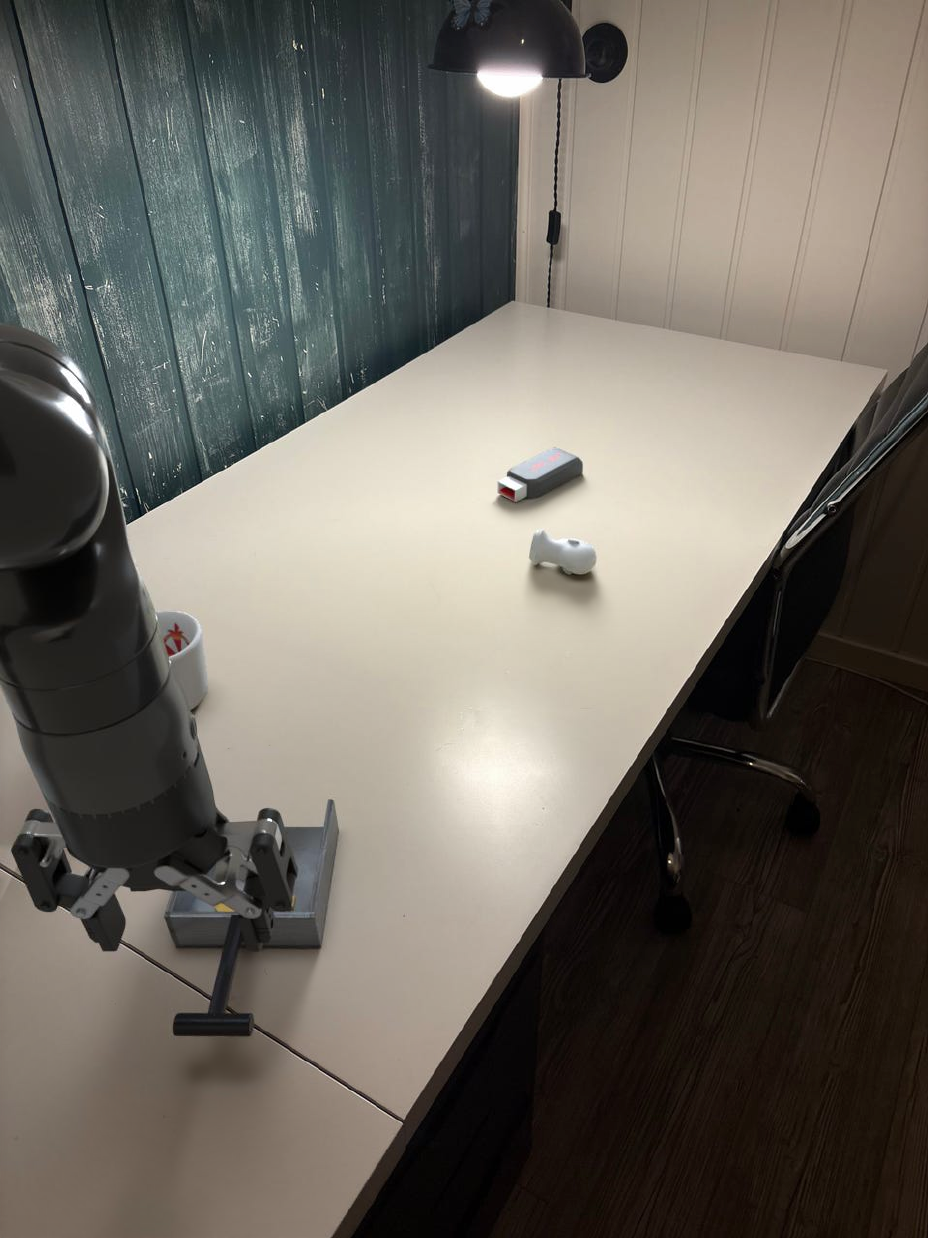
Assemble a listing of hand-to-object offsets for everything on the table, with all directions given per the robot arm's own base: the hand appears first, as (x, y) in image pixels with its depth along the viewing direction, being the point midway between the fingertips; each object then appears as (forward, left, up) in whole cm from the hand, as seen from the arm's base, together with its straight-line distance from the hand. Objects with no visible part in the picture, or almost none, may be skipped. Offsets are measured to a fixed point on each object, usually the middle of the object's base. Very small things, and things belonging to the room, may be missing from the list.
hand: (187, 938), depth 55 cm
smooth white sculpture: (+27, +57, -13) cm, 64 cm away
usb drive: (+25, +76, -13) cm, 81 cm away
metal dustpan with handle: (0, +9, -13) cm, 16 cm away
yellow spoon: (0, +11, -13) cm, 17 cm away
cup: (-14, +35, -13) cm, 40 cm away
